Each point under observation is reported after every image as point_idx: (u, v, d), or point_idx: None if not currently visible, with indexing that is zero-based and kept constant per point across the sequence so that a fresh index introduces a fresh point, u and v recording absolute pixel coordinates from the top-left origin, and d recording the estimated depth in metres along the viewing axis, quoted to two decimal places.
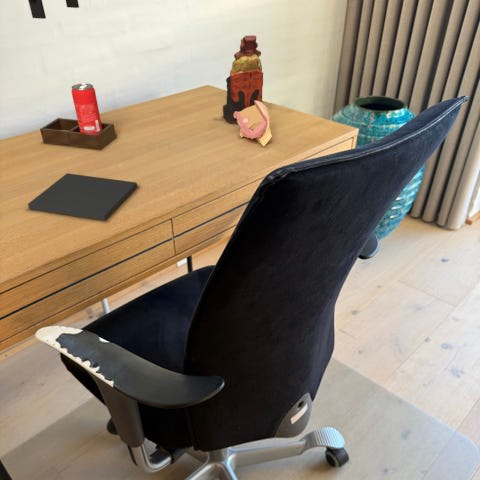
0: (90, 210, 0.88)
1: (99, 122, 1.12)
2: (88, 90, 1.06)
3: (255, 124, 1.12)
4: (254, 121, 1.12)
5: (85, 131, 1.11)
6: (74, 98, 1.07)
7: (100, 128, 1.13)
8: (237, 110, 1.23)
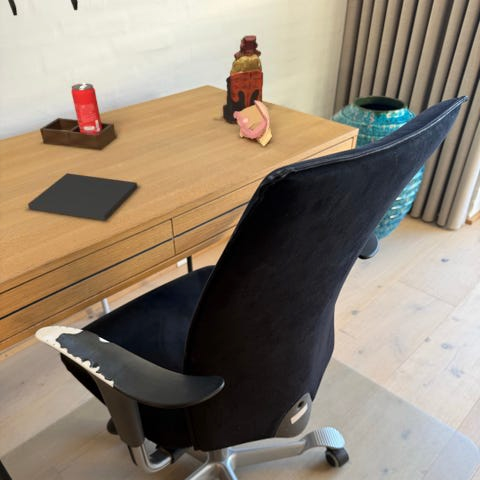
0: (90, 210, 0.88)
1: (99, 122, 1.12)
2: (88, 90, 1.06)
3: (255, 124, 1.12)
4: (254, 121, 1.12)
5: (85, 131, 1.11)
6: (74, 98, 1.07)
7: (100, 128, 1.13)
8: (237, 110, 1.23)
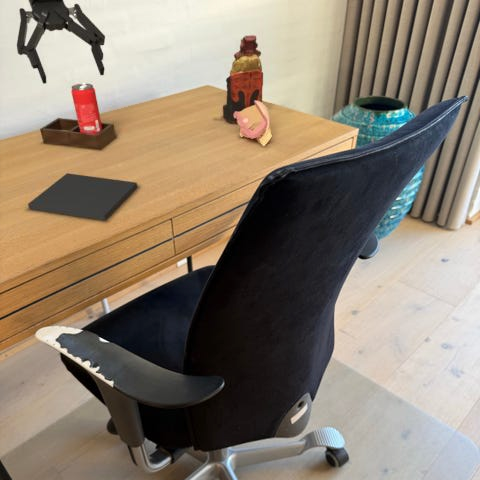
0: (90, 210, 0.88)
1: (99, 122, 1.12)
2: (88, 90, 1.06)
3: (255, 124, 1.12)
4: (254, 121, 1.12)
5: (85, 131, 1.11)
6: (74, 98, 1.07)
7: (100, 128, 1.13)
8: (237, 110, 1.23)
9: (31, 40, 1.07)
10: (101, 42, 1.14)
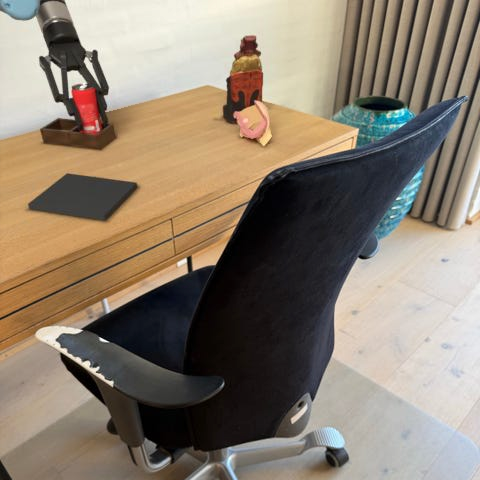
0: (90, 210, 0.88)
1: (99, 122, 1.12)
2: (88, 90, 1.06)
3: (255, 124, 1.12)
4: (254, 121, 1.12)
5: (85, 131, 1.11)
6: (74, 98, 1.07)
7: (100, 128, 1.13)
8: (237, 110, 1.23)
9: (64, 88, 1.07)
10: (105, 93, 1.11)
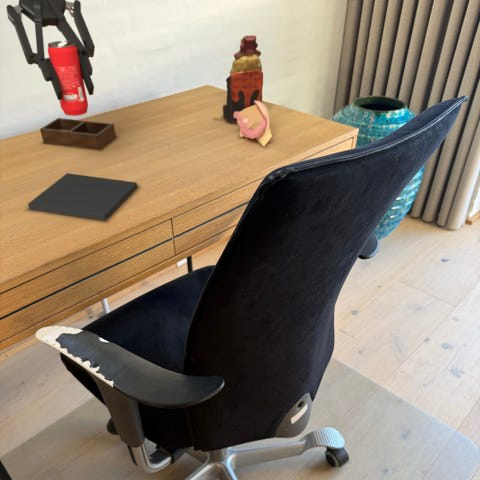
0: (90, 210, 0.88)
1: (83, 90, 0.91)
2: (68, 48, 0.85)
3: (255, 124, 1.12)
4: (254, 121, 1.12)
5: (65, 101, 0.90)
6: (51, 58, 0.86)
7: (84, 97, 0.92)
8: (237, 110, 1.23)
9: (38, 45, 0.86)
10: (90, 53, 0.90)
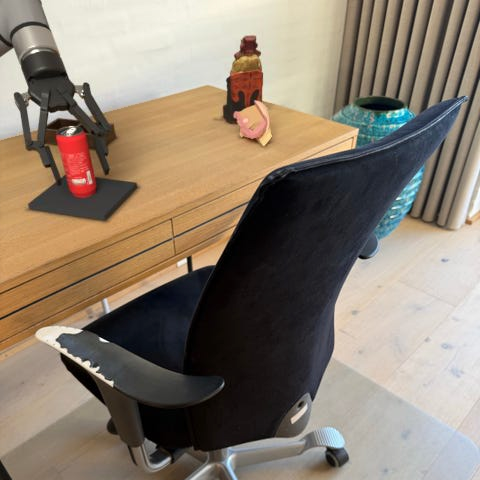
0: (90, 210, 0.88)
1: (91, 173, 0.90)
2: (77, 136, 0.84)
3: (255, 124, 1.12)
4: (254, 121, 1.12)
5: (74, 184, 0.89)
6: (60, 146, 0.85)
7: (93, 180, 0.91)
8: (237, 110, 1.23)
9: (39, 133, 0.85)
10: (106, 134, 0.90)
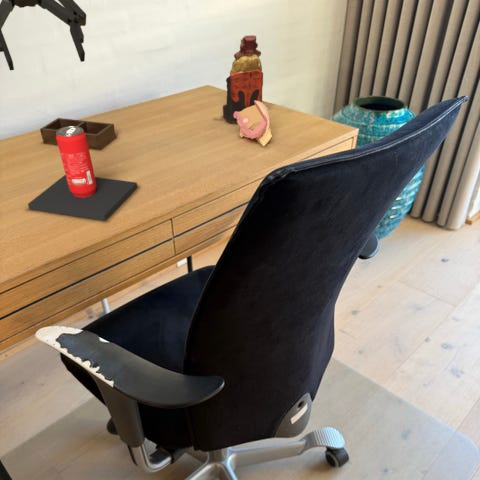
0: (90, 210, 0.88)
1: (91, 173, 0.90)
2: (77, 136, 0.84)
3: (255, 124, 1.12)
4: (254, 121, 1.12)
5: (74, 184, 0.89)
6: (59, 146, 0.85)
7: (93, 180, 0.91)
8: (237, 110, 1.23)
9: None
10: (82, 22, 0.95)
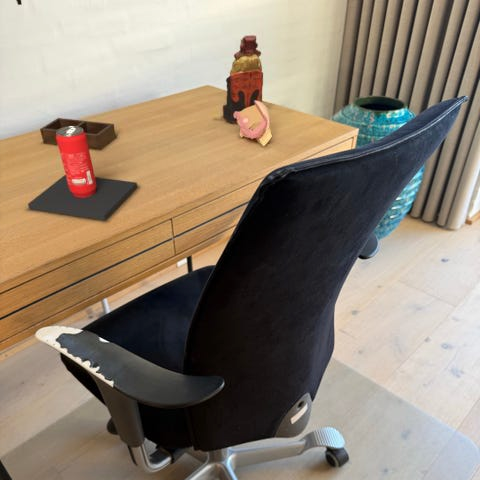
0: (90, 210, 0.88)
1: (91, 173, 0.90)
2: (77, 136, 0.84)
3: (255, 124, 1.12)
4: (254, 121, 1.12)
5: (74, 184, 0.89)
6: (59, 146, 0.85)
7: (93, 180, 0.91)
8: (237, 110, 1.23)
9: None
10: None
